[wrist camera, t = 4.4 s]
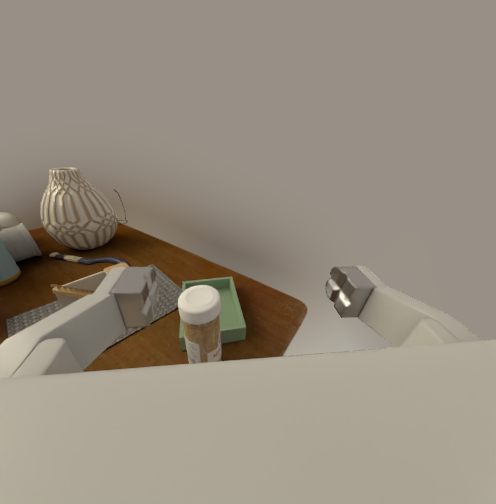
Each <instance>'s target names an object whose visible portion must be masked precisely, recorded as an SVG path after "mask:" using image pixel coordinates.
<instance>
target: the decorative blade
mask: <svg viewBox="0 0 496 504" xmlns="http://www.w3.org/2000/svg"><path fill="white" fill-rule="evenodd" d="M49 257H56V258H58V259H65V260H67V261H73V262H77V263H78V262H79V263H83V264H92V263H96V262H112V263H115V264H119V263H122V262H124V263H126V264H127V265H129V264H128V262H127V261H125V260H123V259H120V258H115V257H101V258H93V259H84V258H81V257H77V256H69V255H65V254H60V253H58V252H54V253H52V254H50V255H49Z"/></svg>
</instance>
